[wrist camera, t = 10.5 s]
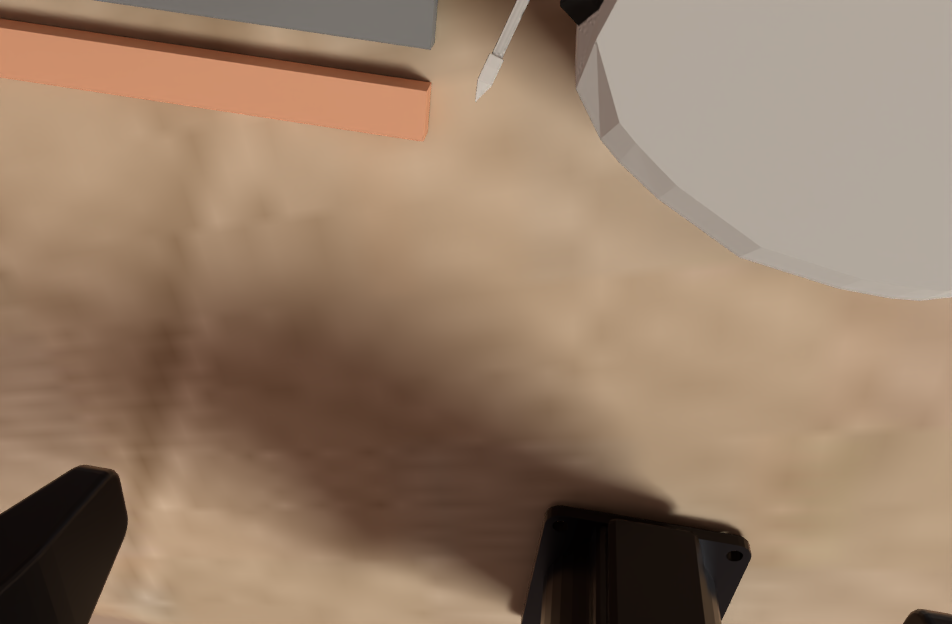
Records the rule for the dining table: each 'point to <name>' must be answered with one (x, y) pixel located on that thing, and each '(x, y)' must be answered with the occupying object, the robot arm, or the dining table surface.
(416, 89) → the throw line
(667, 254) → the dining table surface
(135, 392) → the dining table surface
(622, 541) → the robot arm
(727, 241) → the robot toy
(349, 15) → the mat
